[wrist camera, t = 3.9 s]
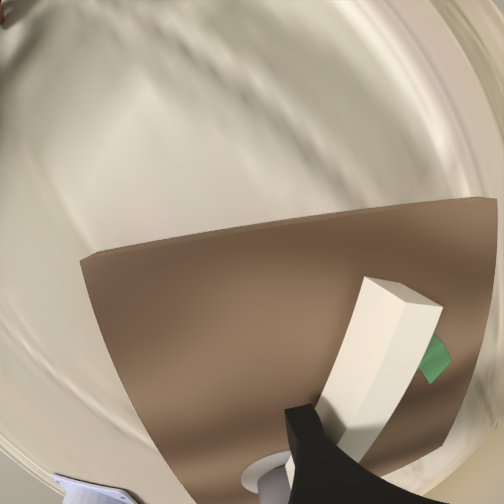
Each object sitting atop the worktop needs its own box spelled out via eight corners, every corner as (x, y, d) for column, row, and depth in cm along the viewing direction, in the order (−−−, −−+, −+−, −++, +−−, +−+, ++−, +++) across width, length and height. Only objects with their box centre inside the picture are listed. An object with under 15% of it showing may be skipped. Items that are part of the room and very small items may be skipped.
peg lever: (310, 491, 11) (321, 528, 8) (250, 494, 11) (256, 535, 8) (419, 286, 9) (473, 316, 6) (337, 271, 8) (387, 307, 5)
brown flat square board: (433, 434, 14) (443, 447, 13) (204, 497, 13) (204, 515, 12) (477, 197, 11) (499, 199, 9) (97, 252, 9) (76, 262, 8)
